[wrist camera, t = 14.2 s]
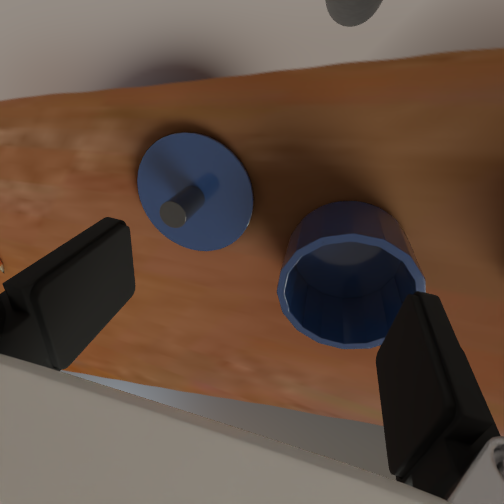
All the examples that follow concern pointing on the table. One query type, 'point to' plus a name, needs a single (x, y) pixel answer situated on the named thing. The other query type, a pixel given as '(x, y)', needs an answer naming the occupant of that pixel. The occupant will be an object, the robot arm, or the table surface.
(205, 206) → the lid
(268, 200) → the table surface
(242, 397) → the table surface
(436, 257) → the table surface
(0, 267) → the pencil
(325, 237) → the pot
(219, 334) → the table surface
